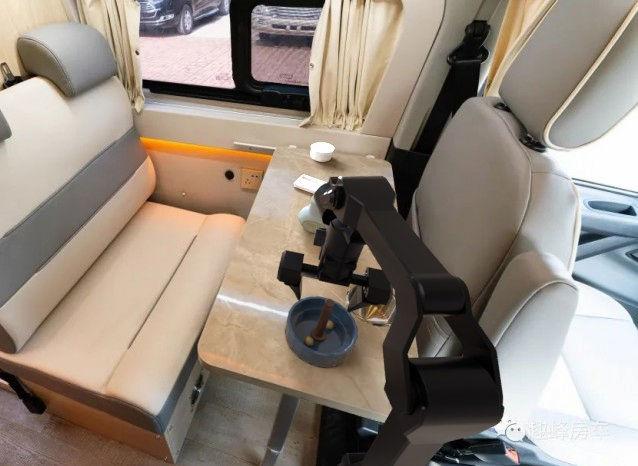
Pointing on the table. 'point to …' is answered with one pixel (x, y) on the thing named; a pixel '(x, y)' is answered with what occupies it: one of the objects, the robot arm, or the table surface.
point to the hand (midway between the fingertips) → (323, 304)
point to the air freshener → (311, 217)
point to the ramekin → (321, 151)
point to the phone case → (308, 183)
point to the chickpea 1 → (308, 341)
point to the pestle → (323, 321)
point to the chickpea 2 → (330, 324)
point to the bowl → (337, 338)
